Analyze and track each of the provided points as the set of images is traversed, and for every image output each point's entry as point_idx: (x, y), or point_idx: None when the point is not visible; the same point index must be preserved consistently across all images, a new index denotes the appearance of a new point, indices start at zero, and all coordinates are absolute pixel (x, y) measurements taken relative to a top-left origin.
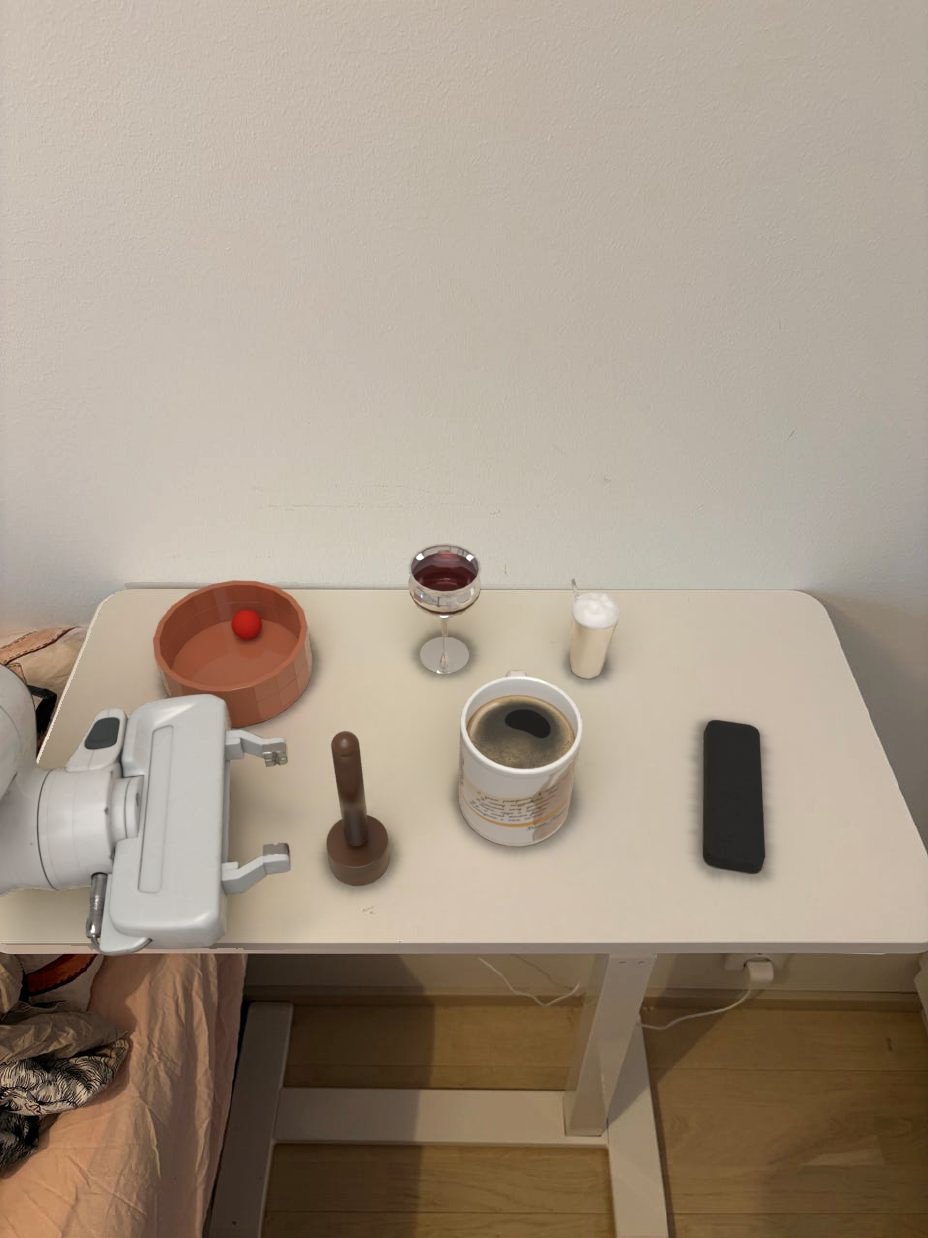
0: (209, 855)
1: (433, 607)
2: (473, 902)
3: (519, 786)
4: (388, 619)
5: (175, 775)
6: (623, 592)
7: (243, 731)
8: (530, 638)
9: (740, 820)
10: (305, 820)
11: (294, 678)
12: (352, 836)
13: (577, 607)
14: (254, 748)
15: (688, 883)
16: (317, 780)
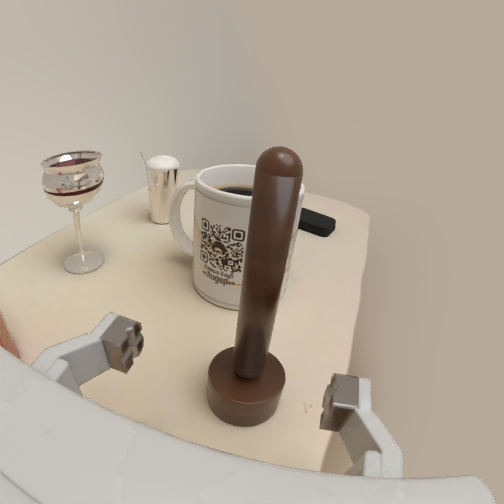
0: (364, 492)
1: (84, 184)
2: (322, 333)
3: (299, 212)
4: (24, 272)
5: (61, 500)
6: (130, 194)
7: (52, 347)
8: (118, 227)
9: (308, 214)
10: (162, 427)
11: (7, 331)
12: (265, 357)
13: (156, 163)
14: (88, 361)
15: (334, 246)
16: (119, 394)
